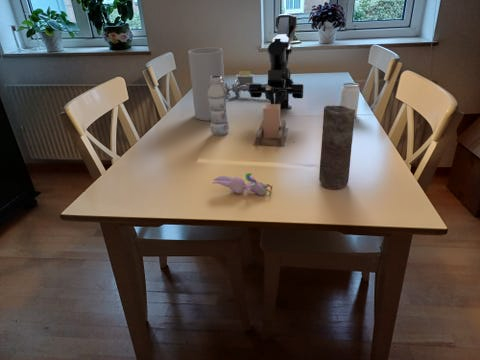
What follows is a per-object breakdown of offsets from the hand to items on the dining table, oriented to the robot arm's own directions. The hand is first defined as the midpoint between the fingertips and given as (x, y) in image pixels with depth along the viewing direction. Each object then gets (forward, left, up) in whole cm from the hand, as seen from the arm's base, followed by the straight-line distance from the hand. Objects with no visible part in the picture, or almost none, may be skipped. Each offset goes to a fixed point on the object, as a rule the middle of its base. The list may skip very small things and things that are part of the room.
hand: (274, 112), depth 121 cm
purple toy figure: (+35, -24, -7) cm, 43 cm away
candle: (+40, -1, -7) cm, 40 cm away
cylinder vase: (-25, -17, -7) cm, 31 cm away
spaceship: (-46, +2, -7) cm, 47 cm away
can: (-2, +31, -7) cm, 32 cm away
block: (+5, -3, -6) cm, 9 cm away
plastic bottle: (-4, -19, -7) cm, 20 cm away
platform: (-68, +13, -7) cm, 69 cm away
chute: (+6, -4, -7) cm, 10 cm away
